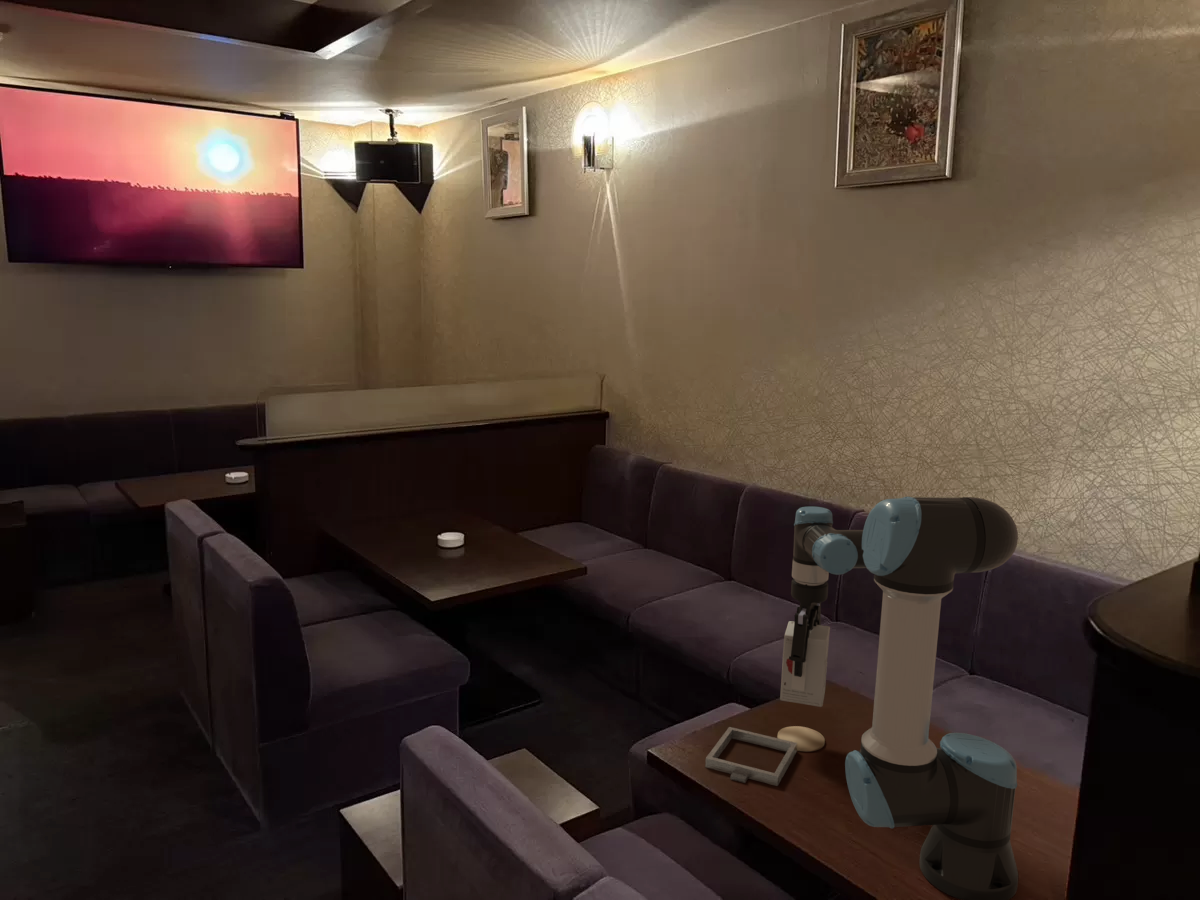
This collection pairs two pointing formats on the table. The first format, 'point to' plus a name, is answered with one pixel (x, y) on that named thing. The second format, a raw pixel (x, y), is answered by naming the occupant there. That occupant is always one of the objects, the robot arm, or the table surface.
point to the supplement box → (814, 667)
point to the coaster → (802, 738)
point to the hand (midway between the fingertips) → (804, 679)
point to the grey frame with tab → (746, 772)
